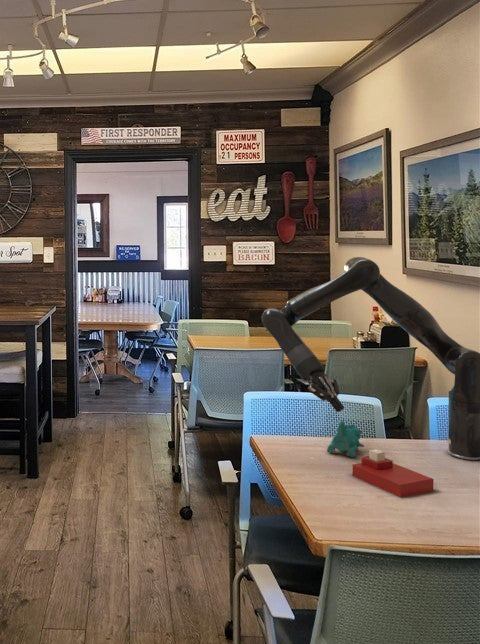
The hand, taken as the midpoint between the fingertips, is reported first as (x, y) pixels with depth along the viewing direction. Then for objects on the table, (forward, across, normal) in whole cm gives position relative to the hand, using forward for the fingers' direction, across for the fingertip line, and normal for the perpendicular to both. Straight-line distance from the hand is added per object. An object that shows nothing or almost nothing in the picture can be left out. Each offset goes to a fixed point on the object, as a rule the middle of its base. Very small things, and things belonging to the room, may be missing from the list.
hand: (341, 410), depth 180 cm
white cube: (+16, 0, 0) cm, 16 cm away
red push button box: (+23, -1, 0) cm, 23 cm away
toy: (+7, +13, +16) cm, 22 cm away
